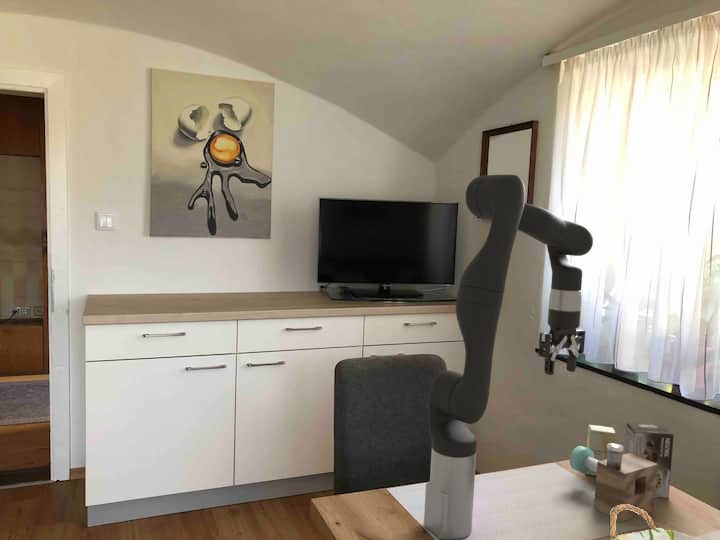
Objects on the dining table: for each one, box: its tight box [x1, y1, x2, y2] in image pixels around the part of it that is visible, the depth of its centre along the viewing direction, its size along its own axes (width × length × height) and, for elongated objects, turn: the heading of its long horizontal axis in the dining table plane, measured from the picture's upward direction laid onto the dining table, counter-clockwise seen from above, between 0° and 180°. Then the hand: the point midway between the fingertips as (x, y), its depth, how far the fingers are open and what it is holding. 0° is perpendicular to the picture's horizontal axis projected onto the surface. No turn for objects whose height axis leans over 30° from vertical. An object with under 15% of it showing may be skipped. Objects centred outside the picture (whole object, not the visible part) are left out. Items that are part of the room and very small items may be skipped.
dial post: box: [607, 443, 625, 470], centre depth 131 cm, size 3×3×5 cm
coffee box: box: [624, 422, 675, 499], centre depth 143 cm, size 9×6×16 cm
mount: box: [593, 453, 658, 522], centre depth 134 cm, size 12×7×11 cm, turn 120°
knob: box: [569, 445, 598, 474], centre depth 139 cm, size 6×14×6 cm, turn 30°
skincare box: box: [585, 424, 617, 476], centre depth 153 cm, size 6×4×12 cm
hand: (560, 372), depth 145 cm, fingers open, 7 cm apart
